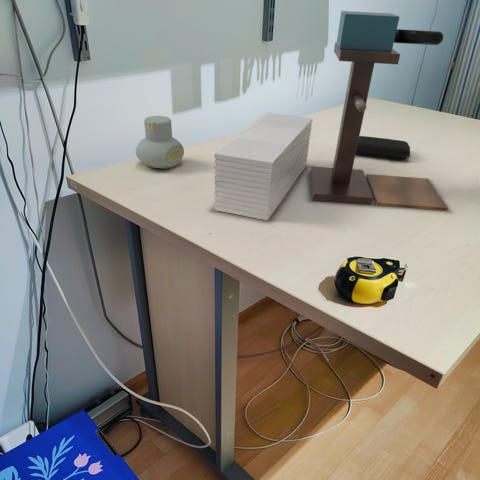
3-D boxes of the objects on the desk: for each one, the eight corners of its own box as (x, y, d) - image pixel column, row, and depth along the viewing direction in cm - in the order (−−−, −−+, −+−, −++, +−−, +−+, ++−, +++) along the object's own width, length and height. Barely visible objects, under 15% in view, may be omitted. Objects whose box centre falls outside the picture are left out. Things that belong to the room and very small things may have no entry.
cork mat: (426, 180, 98) (427, 178, 97) (446, 210, 85) (447, 207, 85) (365, 176, 98) (366, 174, 98) (376, 205, 86) (377, 202, 86)
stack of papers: (267, 220, 79) (272, 162, 72) (214, 210, 81) (214, 153, 74) (306, 165, 102) (312, 118, 95) (264, 159, 105) (267, 112, 98)
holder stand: (361, 174, 99) (390, 43, 83) (372, 207, 85) (410, 57, 69) (309, 170, 100) (328, 39, 83) (312, 202, 86) (336, 53, 69)
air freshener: (161, 154, 104) (158, 111, 98) (189, 161, 101) (187, 117, 95) (131, 167, 97) (126, 121, 91) (160, 175, 94) (156, 128, 88)
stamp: (433, 49, 78) (443, 16, 75) (444, 54, 73) (455, 19, 70) (336, 43, 79) (341, 10, 76) (339, 48, 74) (345, 13, 70)
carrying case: (408, 150, 114) (353, 143, 117) (411, 139, 113) (355, 132, 115) (408, 163, 107) (349, 155, 109) (412, 151, 105) (352, 143, 107)
